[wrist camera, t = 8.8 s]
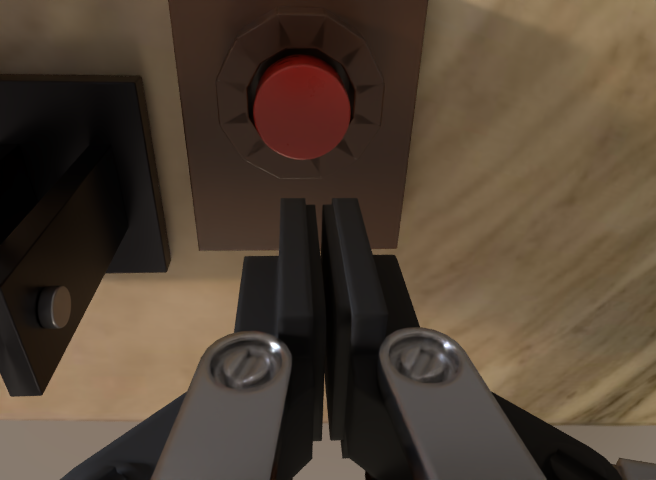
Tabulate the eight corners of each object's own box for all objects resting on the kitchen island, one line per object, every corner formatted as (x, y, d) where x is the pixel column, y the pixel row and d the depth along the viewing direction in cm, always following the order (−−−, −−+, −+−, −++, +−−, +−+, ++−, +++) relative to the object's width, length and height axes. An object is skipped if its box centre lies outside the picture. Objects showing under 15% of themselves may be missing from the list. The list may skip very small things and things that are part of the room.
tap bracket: (-48, 72, 22) (-327, 197, 12) (142, 75, 22) (27, 196, 12) (20, 262, 27) (-134, 458, 17) (171, 260, 28) (108, 448, 18)
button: (253, 52, 19) (250, 63, 17) (348, 54, 19) (353, 65, 18) (257, 143, 21) (255, 160, 19) (343, 144, 21) (348, 161, 20)
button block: (176, -24, 20) (154, -15, 17) (417, -17, 21) (442, -6, 18) (204, 228, 27) (193, 272, 23) (389, 227, 28) (404, 269, 24)
